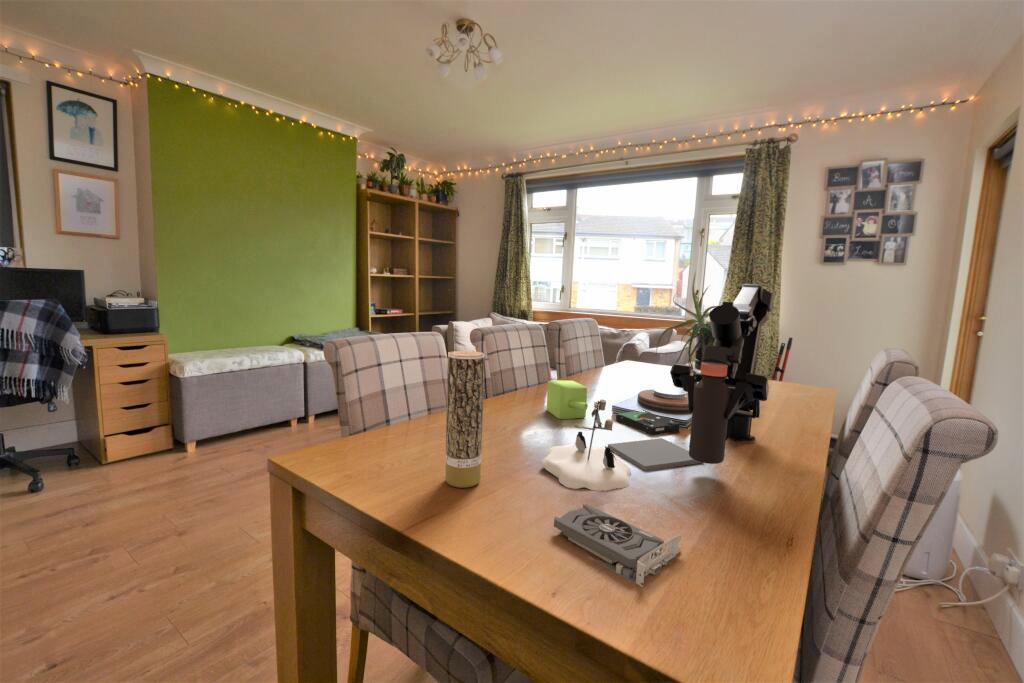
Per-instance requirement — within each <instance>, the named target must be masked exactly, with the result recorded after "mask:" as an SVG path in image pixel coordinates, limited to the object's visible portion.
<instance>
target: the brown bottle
mask: <svg viewBox="0 0 1024 683" xmlns="http://www.w3.org/2000/svg"><path fill="white" fill-rule="evenodd" d="M700 365H701V366H700V373H701V376H702V380H701V381H700V382H697V384H696V385H695V387H694V397H693V409H692V413H691V423H690V432H689V433H690V435H689V445H688V446H689V447H688V451H689V456H690V457H691V458H692V459H694V460H696V461H699V462H702V463H703V464H708V465H709V464H710V465H716V464H717V465H718V464H721V463H723V462H724V460H725V451H726V441H727V437H726V433H727V422H728V420H727V419H726V414H727V409H728V407H729V401H730V389H729V387H728V386H727V385H726V384H725V382H724V380H725V378H726V376H727V367H728V365H727V364H722V363H714V362H704V361H702V362H701V364H700Z"/></svg>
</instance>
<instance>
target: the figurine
mask: <svg viewBox="0 0 1024 683" xmlns="http://www.w3.org/2000/svg"><path fill="white" fill-rule="evenodd" d="M606 405H607V400H605V399H599V400H598V401H597V402H596V401H594V404H593V408H594V409H593V410H592V412H591V418H593V419H594V420H593V426H592V427H588V426H587V427H586V426H581V425H578V423H574V424H573V427H574V428H576V429H580V430H581V431H578V433H577V435H576V436H575V437H576V438H575V443H574V444H565V445H557V446H556V445H555V446H551V448H549V449H548V452H547V456H545V457H544V458H543V459H542V460H541V463H542V466H543V468H544V469H545V470H546V471H548V472H549V473H551V474H552V475H554V476H555V477H556V478H558V482H559V483H560V484H561V485H563V486H564V487H565V488H569V489H574V490H578V489H582V488H585V489H589V490H591V491H594V492H595V491H596V492H597V491H598V492H599V491H601V492H602V490H603V492H604V491H607V490H608V491H610V490H614V489H615V490H617V489H623V488H626V487H630V485H631V484H630V482H631V481H630V476H631V474H632V473H631V472H632V471H631V468H630V467H629V466H628V465H627V464H626V463H625V462H623V460H622V459H621V458H619V457H618V455H617V454H614V452H613V451H611V450H610V448H608V446H605V445H604V447H602V446H598V447H592V445H593V438H594V434H595V431H596V430H606V431H613V425H614V422H613V420H611V419H606V420H605V421H604V424H603V423H602V421H601V418H600V413H599V411H605V409H606ZM582 430H583V431H584V430H589V431H592V433H591V437H590V443H589V446H587V442H586V438H585V436H584V435H583V432H582ZM616 488H617V489H616ZM608 491H607V492H608Z"/></svg>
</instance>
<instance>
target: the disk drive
mask: <svg viewBox="0 0 1024 683" xmlns="http://www.w3.org/2000/svg"><path fill="white" fill-rule="evenodd" d="M642 410H643V411H645V412H636V410H629V411H624V412H617V414H615V421H617V422H619V423H621V424H624V425H626V426H628V427H631V428H633V429H636V430H637V431H641V432H643V433H644V434H647V435H650V436H655V435H663V434H669V433H676V432H680V426H681V425H680V422H677V421H674V420H671V419H669V418H666V417H663V416H660V415H658V414H656V413H652V412H650V411H647V410H644V409H642Z"/></svg>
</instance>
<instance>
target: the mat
mask: <svg viewBox="0 0 1024 683" xmlns="http://www.w3.org/2000/svg"><path fill="white" fill-rule="evenodd" d="M607 447H608V448H610V451H611V452H612V453H615V455H617V456H619V457H621V458H623V459H624V460H626V461H628V462H630V463H631V464H633V465H635V466H636V467H638V468H639V469H641V470H642V471H644V472H646V471H653V470H658V469H659V470H660V469H666V468H673V467H674V468H675V467H681V466H688V465H695V464H701V463H702V462H699V461H696V460H694V459H692V458H691V457H690V456H689V449H685V448H683V447H681V446H679V445H677V444H676V443H673V442H671V441H668V440H667V439H665V438H662V437H660V438H651V439H645V440H643V439H642V440H635V441H625V442H615V443H608V444H607Z"/></svg>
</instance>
